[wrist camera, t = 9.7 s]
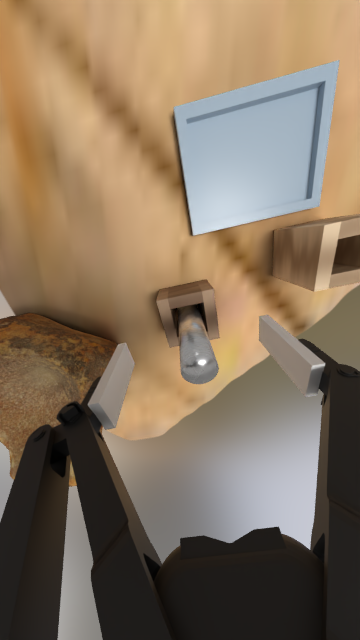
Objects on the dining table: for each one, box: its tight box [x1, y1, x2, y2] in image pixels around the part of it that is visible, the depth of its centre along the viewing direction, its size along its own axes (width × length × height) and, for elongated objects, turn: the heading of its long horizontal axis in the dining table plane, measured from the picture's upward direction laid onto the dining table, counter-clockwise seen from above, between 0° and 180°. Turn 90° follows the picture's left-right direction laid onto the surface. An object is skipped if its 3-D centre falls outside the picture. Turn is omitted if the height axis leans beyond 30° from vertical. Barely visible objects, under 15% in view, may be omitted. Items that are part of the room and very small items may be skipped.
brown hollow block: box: [156, 280, 220, 348], centre depth 24 cm, size 7×7×5 cm
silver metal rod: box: [178, 304, 219, 384], centre depth 19 cm, size 3×3×14 cm
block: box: [272, 214, 360, 291], centre depth 19 cm, size 6×6×8 cm
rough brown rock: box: [0, 313, 118, 487], centre depth 22 cm, size 23×17×15 cm
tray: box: [174, 60, 339, 236], centre depth 18 cm, size 11×15×1 cm
